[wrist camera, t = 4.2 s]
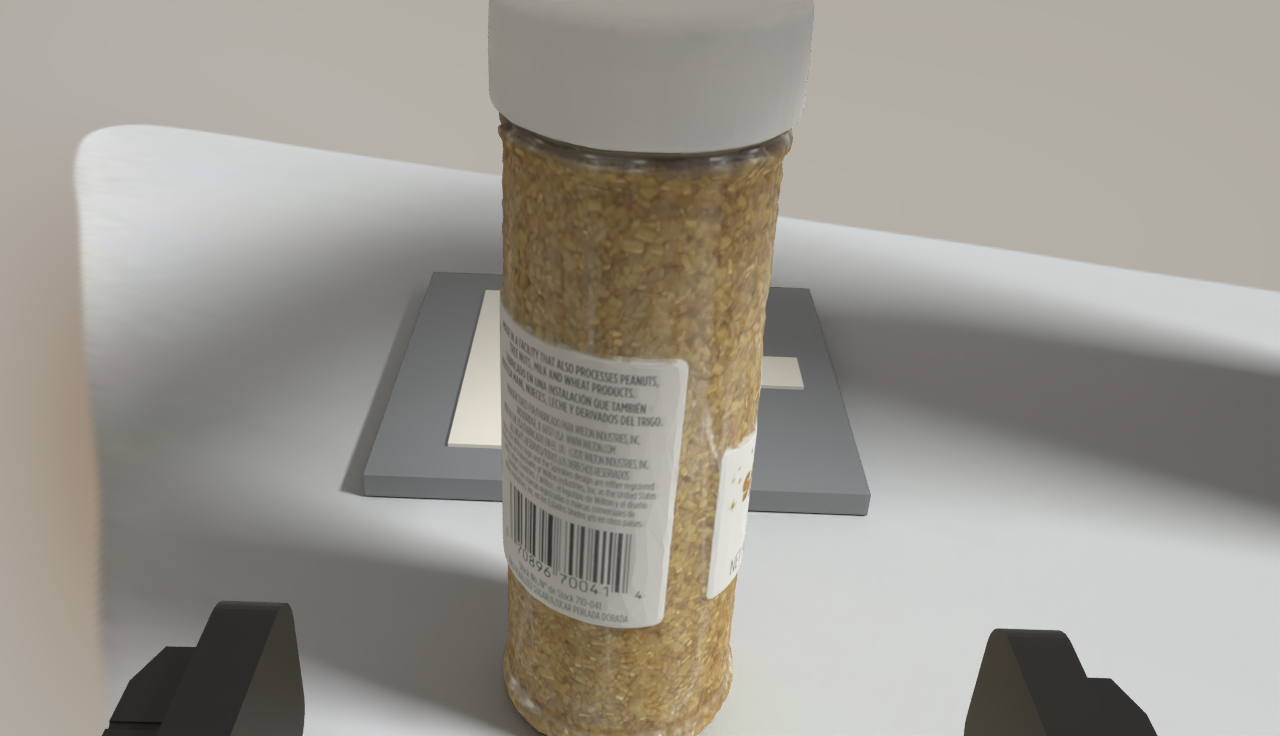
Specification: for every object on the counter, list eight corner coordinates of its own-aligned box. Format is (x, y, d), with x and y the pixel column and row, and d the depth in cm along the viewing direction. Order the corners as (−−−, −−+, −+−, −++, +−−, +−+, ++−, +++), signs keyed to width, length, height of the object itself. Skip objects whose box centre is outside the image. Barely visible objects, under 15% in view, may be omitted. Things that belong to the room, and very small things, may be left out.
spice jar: (778, 691, 22) (889, -16, 16) (597, 813, 20) (637, 25, 13) (627, 569, 25) (665, -72, 19) (451, 660, 23) (421, -49, 16)
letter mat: (806, 305, 37) (809, 285, 37) (867, 515, 27) (871, 491, 27) (434, 289, 37) (433, 269, 36) (364, 495, 27) (362, 471, 27)
